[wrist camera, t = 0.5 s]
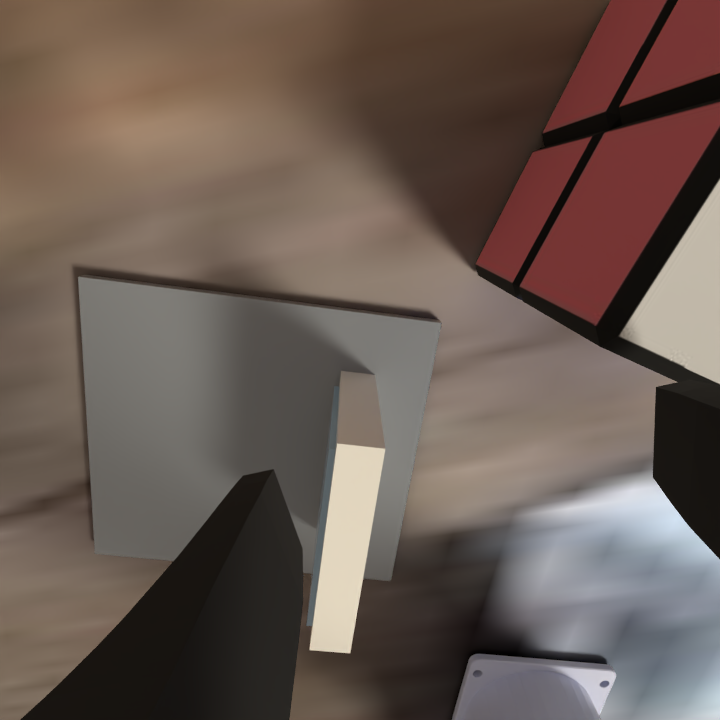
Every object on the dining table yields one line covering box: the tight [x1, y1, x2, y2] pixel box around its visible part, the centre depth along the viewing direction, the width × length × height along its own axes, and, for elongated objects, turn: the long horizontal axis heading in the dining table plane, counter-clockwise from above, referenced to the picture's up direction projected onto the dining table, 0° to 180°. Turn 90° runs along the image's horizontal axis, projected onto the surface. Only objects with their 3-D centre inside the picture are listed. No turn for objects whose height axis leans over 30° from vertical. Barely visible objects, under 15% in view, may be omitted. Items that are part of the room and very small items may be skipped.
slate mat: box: [78, 275, 442, 581], centre depth 20 cm, size 13×14×1 cm
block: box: [306, 371, 385, 653], centre depth 17 cm, size 8×2×6 cm, turn 172°
